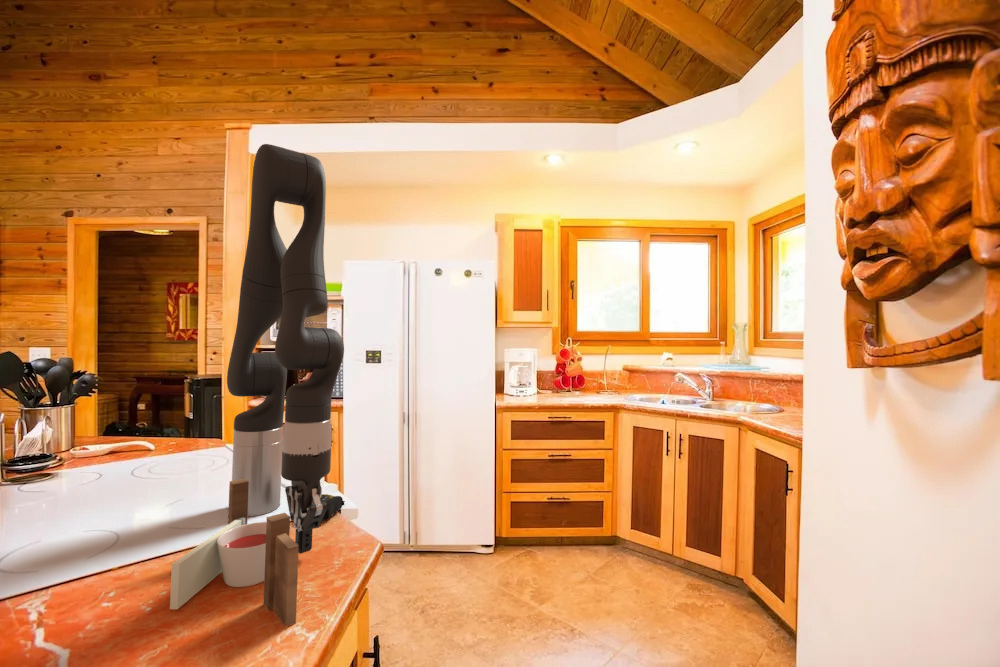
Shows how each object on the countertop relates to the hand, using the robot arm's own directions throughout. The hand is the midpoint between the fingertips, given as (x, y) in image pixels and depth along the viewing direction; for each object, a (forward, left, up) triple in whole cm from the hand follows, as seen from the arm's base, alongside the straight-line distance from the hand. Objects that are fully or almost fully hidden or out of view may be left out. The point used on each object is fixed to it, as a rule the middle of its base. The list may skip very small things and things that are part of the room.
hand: (303, 550), depth 72 cm
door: (-3, -13, -1) cm, 13 cm away
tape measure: (-15, +10, -2) cm, 18 cm away
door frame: (+2, -7, -1) cm, 8 cm away
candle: (0, -8, -2) cm, 8 cm away
